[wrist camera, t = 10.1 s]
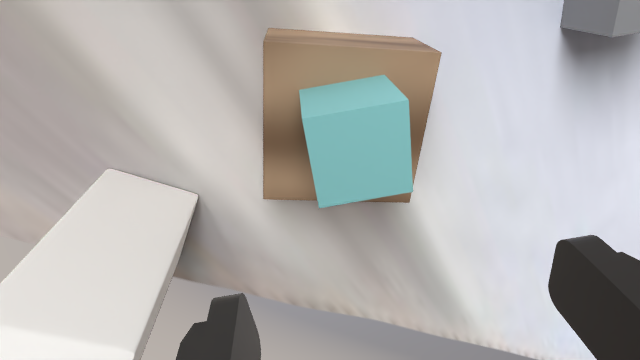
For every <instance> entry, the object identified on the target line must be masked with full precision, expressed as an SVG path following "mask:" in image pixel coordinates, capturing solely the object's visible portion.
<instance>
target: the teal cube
mask: <svg viewBox="0 0 640 360" xmlns="http://www.w3.org/2000/svg"><path fill="white" fill-rule="evenodd" d="M299 94H300V104H301V115H302V122H303V127H304V132H305V138H306V143H307V148H308V153H309V158H310V164H311V169H312V174H313V179H314V184H315V190H316V195H317V200H318V205H319V208H323V207H329V206H335V205H340V204H346V203H352V202H357V201H363V200H369V199H375V198H380V197H386V196H392V195H397V194H403V193H409V192H413V181H412V159H411V138H410V116H409V100H408V98H407V97H406V96H405V95H404V94H403V93H402V92H401V91H400V90H399V89H398V88H397V87H396V86H395V85H394V84H393V83H392V82H391V81H390V80H389V79H388V78H387V77H386V76H385V75H379V76H374V77H368V78H363V79H357V80H351V81H346V82H340V83H335V84H329V85H324V86H318V87H312V88H307V89H301V90H299Z"/></svg>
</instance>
